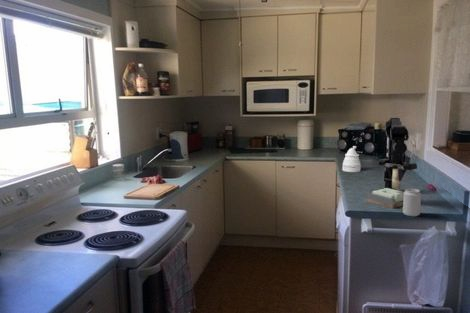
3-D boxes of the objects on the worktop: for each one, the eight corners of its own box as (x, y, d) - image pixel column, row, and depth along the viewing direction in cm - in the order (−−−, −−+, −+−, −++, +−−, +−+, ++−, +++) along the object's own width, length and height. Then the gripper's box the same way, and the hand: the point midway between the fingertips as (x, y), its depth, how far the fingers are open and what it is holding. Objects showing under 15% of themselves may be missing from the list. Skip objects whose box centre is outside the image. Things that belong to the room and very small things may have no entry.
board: (390, 195, 211) (390, 187, 211) (416, 201, 198) (417, 193, 197) (366, 201, 201) (366, 192, 200) (392, 208, 188) (392, 199, 187)
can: (415, 211, 182) (416, 187, 180) (423, 216, 174) (424, 191, 172) (399, 212, 181) (400, 188, 179) (407, 217, 174) (408, 192, 172)
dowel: (394, 186, 199) (395, 168, 197) (401, 188, 195) (402, 169, 194) (390, 187, 197) (391, 169, 195) (397, 189, 193) (398, 170, 192)
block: (386, 195, 206) (386, 187, 205) (405, 199, 196) (405, 192, 196) (372, 198, 200) (372, 191, 199) (391, 203, 190) (391, 195, 190)
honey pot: (358, 168, 286) (358, 145, 283) (362, 171, 273) (362, 147, 270) (341, 168, 287) (341, 145, 284) (344, 172, 275) (344, 147, 272)
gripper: (424, 151, 189) (422, 181, 192) (391, 147, 205) (390, 175, 207) (411, 153, 183) (409, 184, 186) (378, 149, 199) (377, 178, 201)
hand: (396, 180), depth 195 cm, fingers closed on dowel, 4 cm apart
